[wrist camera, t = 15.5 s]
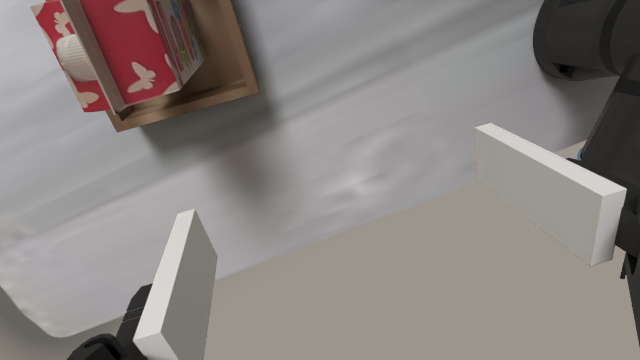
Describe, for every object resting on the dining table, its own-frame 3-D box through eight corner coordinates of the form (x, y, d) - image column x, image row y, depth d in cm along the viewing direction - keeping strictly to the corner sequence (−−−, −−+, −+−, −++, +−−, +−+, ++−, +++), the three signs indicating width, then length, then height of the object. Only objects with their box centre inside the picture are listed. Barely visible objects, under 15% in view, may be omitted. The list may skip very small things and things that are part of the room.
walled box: (210, -67, 37) (204, -80, 32) (257, 82, 45) (259, 92, 39) (59, -29, 36) (26, -35, 31) (132, 117, 44) (117, 132, 38)
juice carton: (149, 69, 41) (61, 127, 21) (124, 6, 38) (-6, 7, 18) (206, 57, 41) (170, 102, 22) (186, -6, 38) (123, -19, 19)
